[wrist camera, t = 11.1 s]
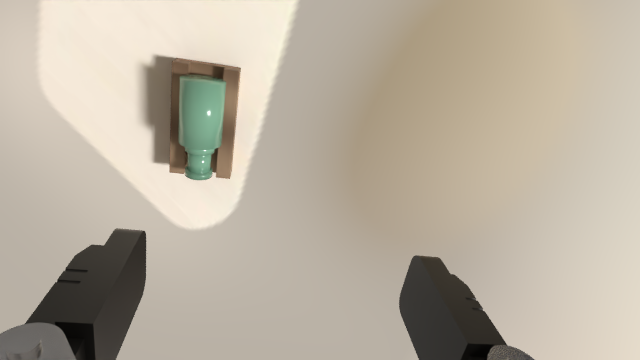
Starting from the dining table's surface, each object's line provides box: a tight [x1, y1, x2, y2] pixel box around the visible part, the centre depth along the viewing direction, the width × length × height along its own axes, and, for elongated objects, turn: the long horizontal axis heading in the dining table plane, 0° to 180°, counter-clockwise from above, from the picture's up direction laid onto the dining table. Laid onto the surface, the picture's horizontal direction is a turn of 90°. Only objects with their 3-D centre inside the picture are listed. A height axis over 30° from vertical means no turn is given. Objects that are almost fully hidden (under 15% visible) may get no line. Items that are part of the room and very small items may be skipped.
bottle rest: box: [170, 58, 241, 179], centre depth 40 cm, size 11×6×2 cm, turn 170°
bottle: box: [178, 74, 226, 180], centre depth 38 cm, size 9×4×4 cm, turn 170°
